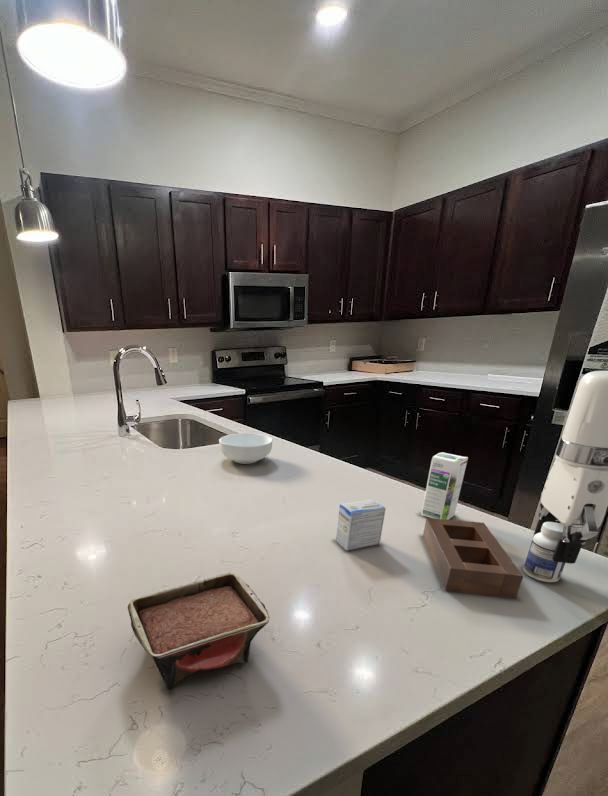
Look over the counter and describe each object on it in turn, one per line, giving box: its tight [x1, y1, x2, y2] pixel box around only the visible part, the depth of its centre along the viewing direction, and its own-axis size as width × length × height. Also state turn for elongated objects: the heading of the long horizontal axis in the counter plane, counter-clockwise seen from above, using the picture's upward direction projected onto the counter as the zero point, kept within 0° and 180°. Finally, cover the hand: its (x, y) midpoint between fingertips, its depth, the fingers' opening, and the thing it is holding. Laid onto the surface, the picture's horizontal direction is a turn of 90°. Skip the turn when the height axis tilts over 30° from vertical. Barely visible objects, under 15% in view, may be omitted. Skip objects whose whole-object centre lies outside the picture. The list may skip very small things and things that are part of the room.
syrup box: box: [420, 451, 469, 520], centre depth 95 cm, size 6×6×14 cm
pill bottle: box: [523, 522, 572, 583], centre depth 73 cm, size 5×5×10 cm
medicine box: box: [335, 498, 387, 551], centre depth 85 cm, size 8×4×9 cm, turn 108°
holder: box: [422, 517, 524, 600], centre depth 78 cm, size 11×19×4 cm, turn 167°
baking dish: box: [127, 572, 270, 691], centre depth 58 cm, size 14×18×10 cm
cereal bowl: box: [218, 432, 273, 465], centre depth 134 cm, size 17×17×7 cm
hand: (552, 549), depth 73 cm, fingers open, 6 cm apart
